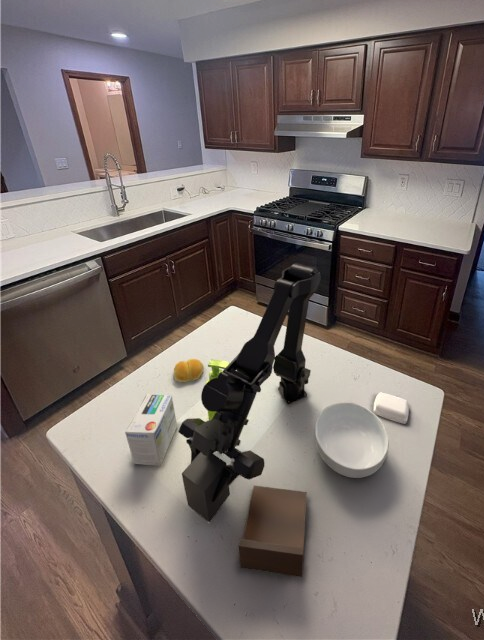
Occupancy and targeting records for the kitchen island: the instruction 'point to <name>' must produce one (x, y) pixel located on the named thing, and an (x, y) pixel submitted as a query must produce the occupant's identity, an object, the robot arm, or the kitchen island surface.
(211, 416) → the soap dispenser
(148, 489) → the kitchen island surface
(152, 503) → the kitchen island surface
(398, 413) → the soap
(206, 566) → the kitchen island surface
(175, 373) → the bread roll
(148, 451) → the light bulb box
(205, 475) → the dark grey upright block
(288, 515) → the brown shallow tray
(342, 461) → the cereal bowl
